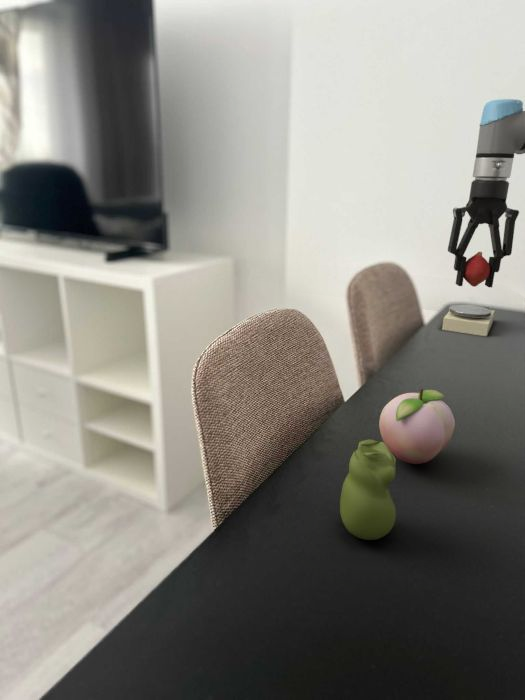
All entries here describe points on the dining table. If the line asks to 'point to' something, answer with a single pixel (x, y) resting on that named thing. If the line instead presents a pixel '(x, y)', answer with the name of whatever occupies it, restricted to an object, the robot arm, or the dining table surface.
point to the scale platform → (470, 311)
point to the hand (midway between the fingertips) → (473, 285)
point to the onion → (476, 269)
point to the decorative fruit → (416, 426)
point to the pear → (369, 491)
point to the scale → (468, 324)
